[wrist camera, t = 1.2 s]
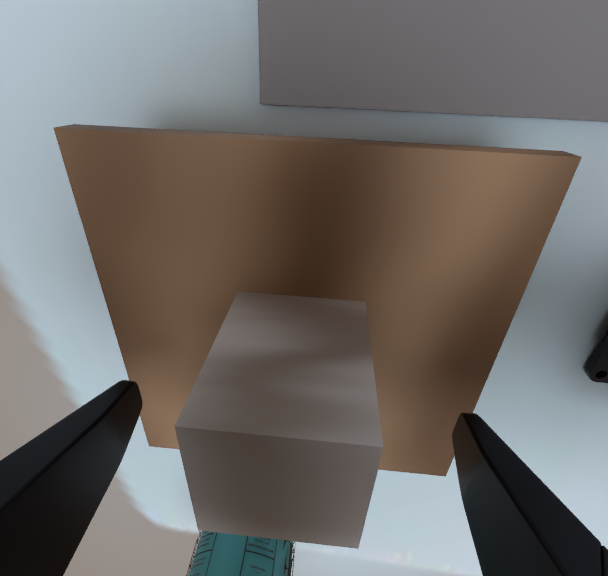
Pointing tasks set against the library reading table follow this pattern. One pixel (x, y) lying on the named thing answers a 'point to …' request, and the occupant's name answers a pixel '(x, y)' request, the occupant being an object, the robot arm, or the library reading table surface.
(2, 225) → the library reading table surface
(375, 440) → the lid
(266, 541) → the beverage bottle
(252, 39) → the library reading table surface
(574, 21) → the mat
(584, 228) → the library reading table surface
